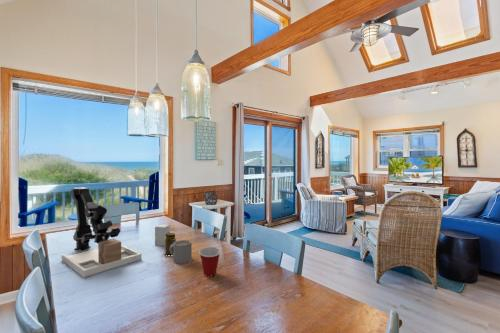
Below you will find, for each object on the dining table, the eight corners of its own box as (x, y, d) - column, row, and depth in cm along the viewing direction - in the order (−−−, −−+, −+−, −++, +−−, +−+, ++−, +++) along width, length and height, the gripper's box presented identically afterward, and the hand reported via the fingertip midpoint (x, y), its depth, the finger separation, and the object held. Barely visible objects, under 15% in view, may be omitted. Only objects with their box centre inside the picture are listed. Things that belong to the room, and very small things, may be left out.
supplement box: (164, 246, 166) (164, 227, 166) (154, 245, 168) (154, 226, 167) (170, 242, 173) (170, 224, 173) (160, 242, 175) (160, 224, 175)
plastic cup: (202, 281, 118) (202, 256, 117) (196, 272, 127) (196, 248, 127) (224, 276, 123) (224, 252, 122) (216, 268, 132) (216, 245, 132)
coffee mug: (195, 258, 145) (195, 241, 145) (182, 264, 136) (182, 246, 136) (178, 254, 152) (178, 237, 152) (165, 259, 143) (165, 242, 143)
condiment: (175, 251, 158) (175, 232, 157) (177, 255, 150) (177, 235, 150) (163, 252, 155) (163, 233, 154) (165, 257, 147) (165, 237, 147)
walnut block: (98, 262, 136) (98, 242, 136) (114, 257, 142) (113, 238, 142) (105, 266, 130) (105, 245, 130) (121, 261, 136) (121, 241, 136)
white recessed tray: (61, 260, 142) (61, 254, 142) (114, 246, 165) (114, 241, 165) (84, 277, 121) (83, 270, 121) (141, 259, 144) (141, 253, 143)
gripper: (83, 219, 135) (91, 244, 128) (118, 214, 149) (127, 235, 143) (77, 231, 140) (85, 256, 133) (113, 225, 154) (121, 246, 148)
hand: (106, 248), depth 139 cm, fingers closed
